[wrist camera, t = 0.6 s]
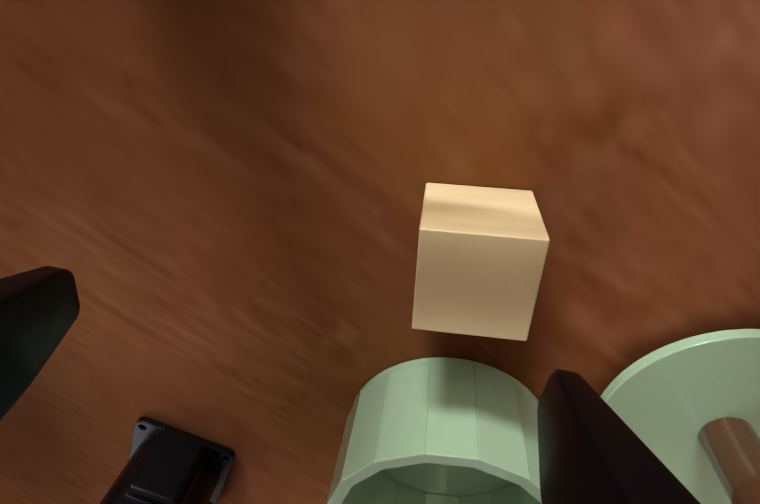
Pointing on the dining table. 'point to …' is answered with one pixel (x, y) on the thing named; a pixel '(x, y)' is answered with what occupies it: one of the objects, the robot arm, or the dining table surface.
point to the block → (478, 261)
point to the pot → (439, 438)
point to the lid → (699, 412)
